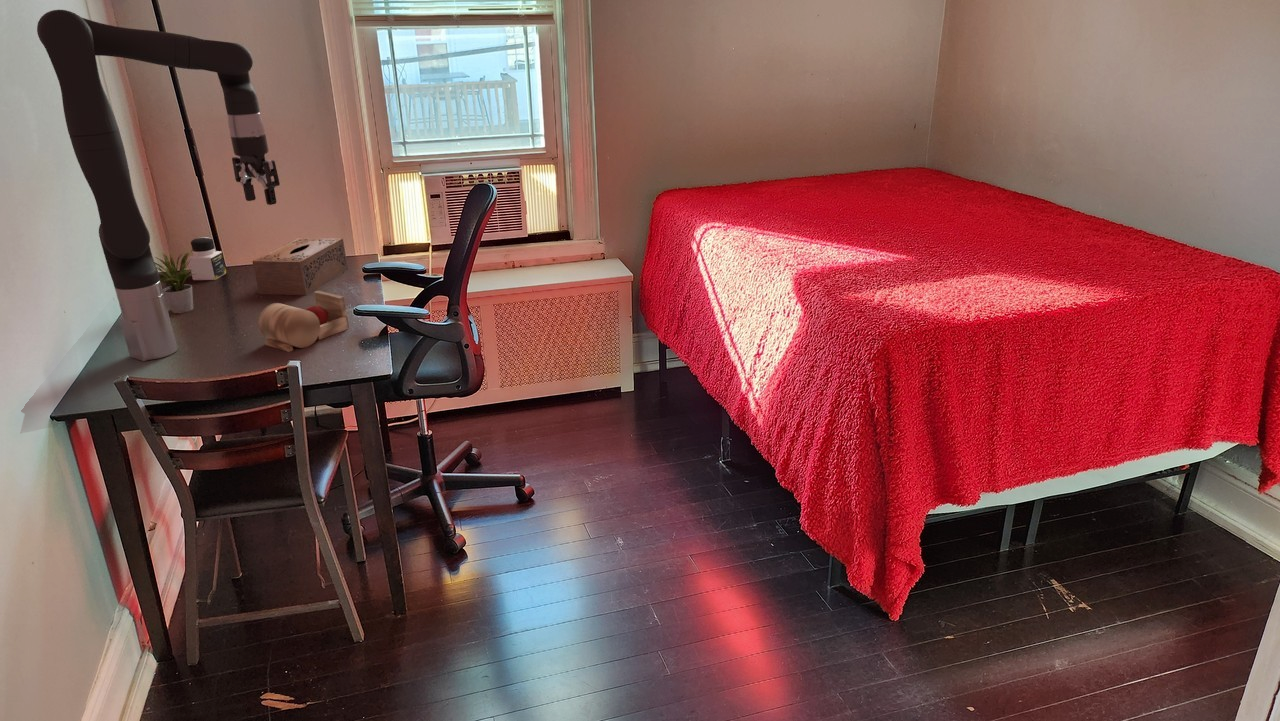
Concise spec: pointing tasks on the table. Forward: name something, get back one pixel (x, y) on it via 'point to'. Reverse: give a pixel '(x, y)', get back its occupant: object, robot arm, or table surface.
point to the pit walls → (332, 313)
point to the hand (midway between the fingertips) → (261, 202)
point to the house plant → (177, 284)
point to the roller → (288, 326)
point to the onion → (319, 313)
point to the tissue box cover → (300, 266)
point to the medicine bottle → (206, 260)
